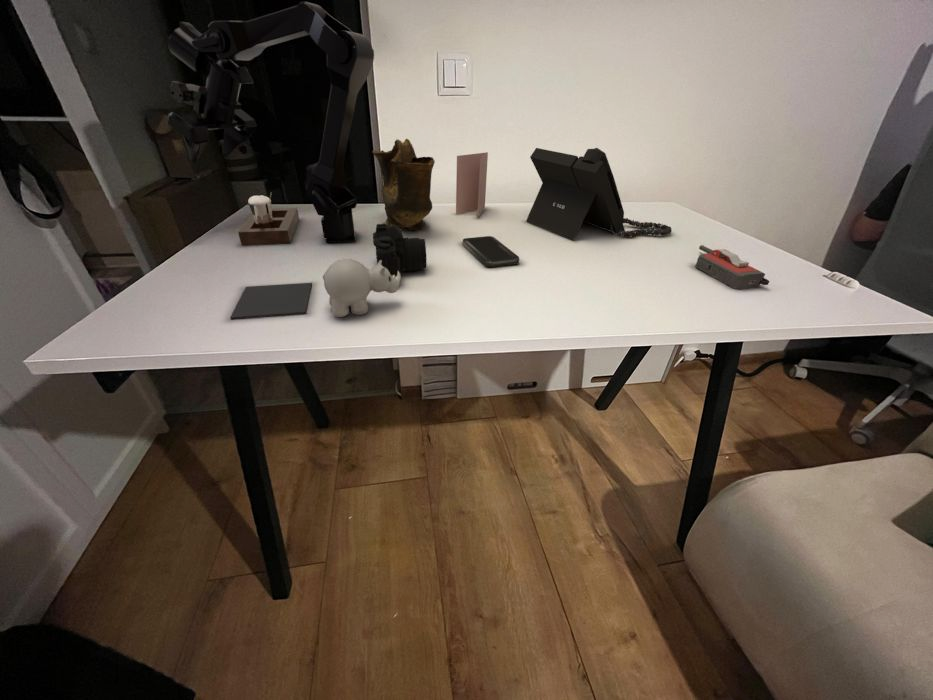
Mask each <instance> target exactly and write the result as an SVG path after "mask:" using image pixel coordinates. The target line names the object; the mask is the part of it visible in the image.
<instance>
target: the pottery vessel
mask: <svg viewBox="0 0 933 700" xmlns="http://www.w3.org/2000/svg"><path fill="white" fill-rule="evenodd" d="M372 154H373V156H374V157H375V158H376V159H377V161H378V164H379V169H380V173H381V178H382V188H381V191H380V192H381V194H382V200H383V204H384V211H385V215H386V220H385V224H386V225H388V226H390V225H395V226H397V227H399V228H400V229H405V228H408V230H409V231H411V232H412V231H413V230H414V231H418V230H422V229H424V228H425V226H426V223H425V222H424V220H423V219H425V218H427V216H429V214H430V213H431V211H432V210H433V202H432V200H431V188H432V187H431V186H432V173H433V168H434V165H435V163H436V161H435V159H434V157H433V156H421V157H417V154H416V152H415V148H414V146H413V143H412V142H411V141H410V139H409V138H407V137H406V138H405V139H404V141H401V139H399V138H398V139H396V140H395V141H394V145H393V146H392V149H391V150H388V151H385V150H380V151H379V150H372Z"/></svg>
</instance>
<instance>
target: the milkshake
mask: <svg viewBox="0 0 933 700" xmlns="http://www.w3.org/2000/svg"><path fill="white" fill-rule="evenodd" d="M272 193H273V192H270V195H269V197H268V196H265V195H251V196H250V197H249V198H248V199H247V203H248V206H249V208H250V211H251V214H253V217H254V220H255V223H256V226H257V229H263V228H274V221H273V215H272V209H273V207H272V200H271V199H272Z"/></svg>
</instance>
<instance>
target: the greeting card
mask: <svg viewBox="0 0 933 700" xmlns="http://www.w3.org/2000/svg"><path fill="white" fill-rule="evenodd" d="M488 157H489V152H479V153H470V154H461V155H456V179H455V180H456V183H455V184H456V187H455V188H456V189H455V191H456V192H455V215H459V214H463V213H464V214H465V213H468V212H472V211H477V213H476V214H477V216H476V219H479V217H480V215H481V214H482V213H483V212H484V210H485V209H486V194H487V193H486V192H487V174H488Z"/></svg>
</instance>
